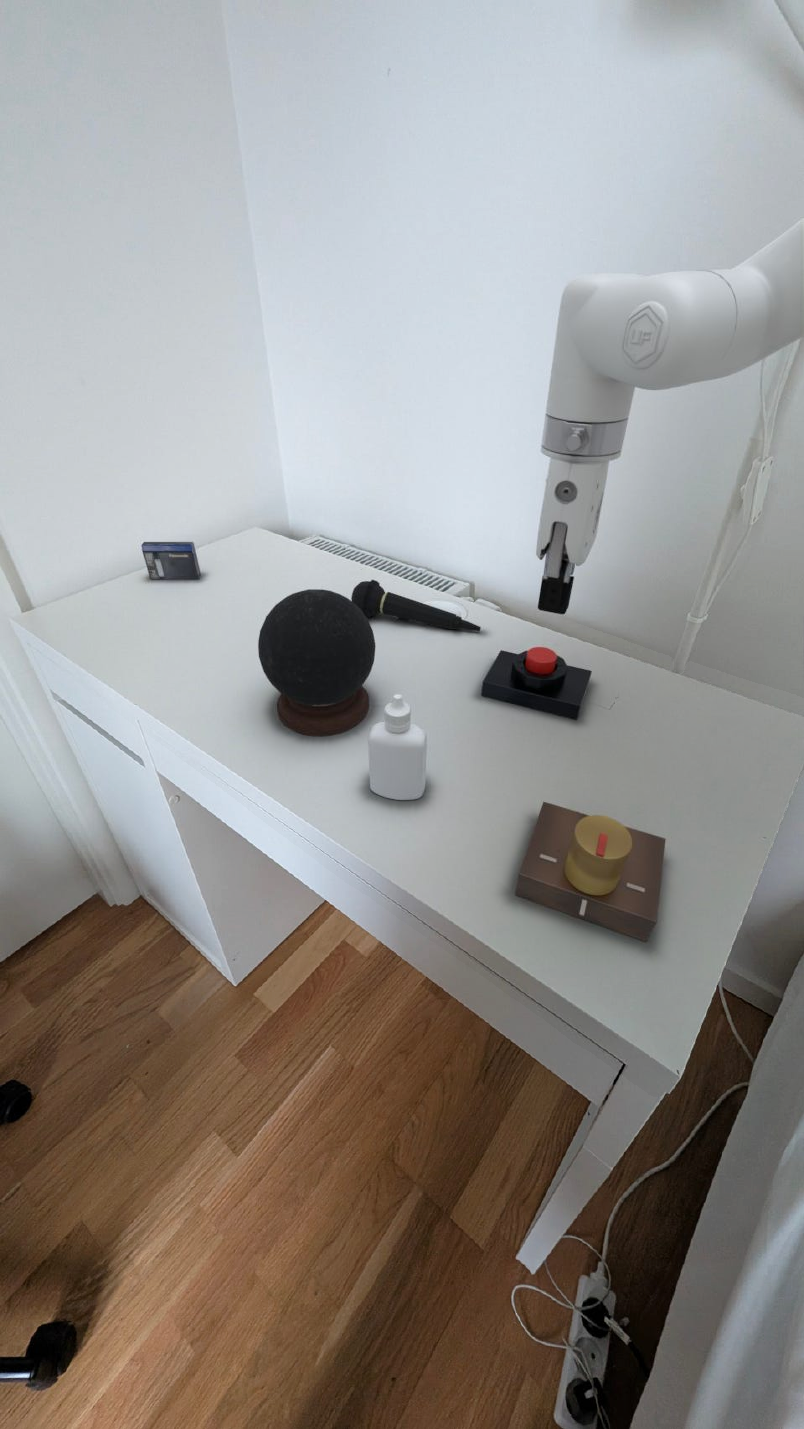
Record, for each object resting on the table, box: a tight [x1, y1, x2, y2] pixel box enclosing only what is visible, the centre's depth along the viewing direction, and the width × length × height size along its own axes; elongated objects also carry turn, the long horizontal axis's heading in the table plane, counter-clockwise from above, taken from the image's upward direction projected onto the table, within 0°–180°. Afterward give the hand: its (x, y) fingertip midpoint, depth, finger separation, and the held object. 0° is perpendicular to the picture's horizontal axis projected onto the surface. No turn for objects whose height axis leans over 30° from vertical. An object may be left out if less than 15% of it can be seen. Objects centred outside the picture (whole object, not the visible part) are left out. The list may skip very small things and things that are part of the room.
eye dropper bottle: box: [367, 694, 428, 801], centre depth 56 cm, size 4×6×12 cm
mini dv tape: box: [140, 541, 202, 580], centre depth 97 cm, size 8×2×6 cm, turn 90°
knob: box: [564, 814, 632, 895], centre depth 47 cm, size 4×4×5 cm
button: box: [525, 646, 558, 674], centre depth 71 cm, size 4×4×2 cm
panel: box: [514, 801, 667, 943], centre depth 50 cm, size 11×11×3 cm
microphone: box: [350, 579, 482, 632], centre depth 86 cm, size 6×6×20 cm
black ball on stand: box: [257, 588, 376, 737], centre depth 66 cm, size 13×13×15 cm
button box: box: [480, 649, 593, 721], centre depth 73 cm, size 12×8×4 cm, turn 66°
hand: (552, 609), depth 66 cm, fingers closed
